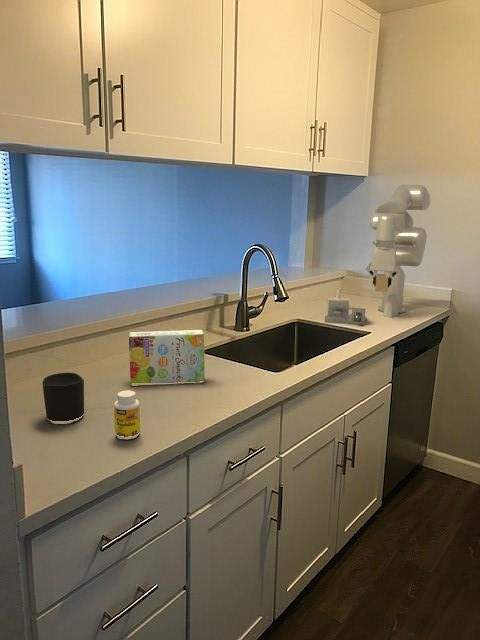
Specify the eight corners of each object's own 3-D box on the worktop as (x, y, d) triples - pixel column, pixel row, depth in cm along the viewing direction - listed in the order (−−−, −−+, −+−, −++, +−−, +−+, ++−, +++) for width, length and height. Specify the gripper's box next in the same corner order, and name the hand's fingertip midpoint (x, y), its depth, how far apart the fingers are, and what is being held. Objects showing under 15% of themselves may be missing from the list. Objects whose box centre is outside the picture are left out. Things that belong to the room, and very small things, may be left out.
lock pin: (355, 315, 235) (355, 307, 234) (363, 316, 234) (364, 308, 234) (352, 322, 222) (353, 314, 221) (361, 323, 221) (361, 314, 220)
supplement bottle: (113, 441, 117) (111, 398, 114) (117, 430, 122) (115, 389, 120) (138, 441, 117) (137, 398, 115) (141, 430, 123) (140, 388, 120)
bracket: (328, 316, 241) (329, 300, 239) (365, 319, 236) (366, 302, 235) (324, 322, 229) (325, 305, 228) (363, 325, 225) (365, 308, 223)
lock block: (376, 288, 233) (377, 273, 232) (387, 288, 232) (388, 274, 230) (375, 291, 227) (376, 276, 225) (387, 291, 225) (388, 276, 224)
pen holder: (92, 411, 132) (90, 374, 130) (74, 427, 123) (72, 387, 121) (57, 408, 134) (54, 371, 132) (37, 424, 125) (34, 384, 123)
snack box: (202, 377, 159) (202, 328, 155) (204, 384, 153) (204, 333, 150) (130, 380, 155) (128, 330, 151) (130, 387, 150) (128, 336, 146)
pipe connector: (349, 312, 249) (351, 291, 247) (328, 312, 249) (329, 291, 247) (345, 308, 259) (347, 288, 257) (325, 307, 259) (326, 287, 257)
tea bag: (398, 315, 245) (400, 294, 243) (391, 317, 240) (392, 296, 238) (390, 314, 247) (392, 293, 245) (383, 316, 243) (385, 295, 240)
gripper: (363, 244, 223) (361, 286, 228) (405, 246, 218) (402, 289, 223) (364, 242, 230) (362, 283, 235) (405, 244, 225) (402, 285, 230)
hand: (381, 285), depth 229 cm, fingers closed on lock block, 5 cm apart
